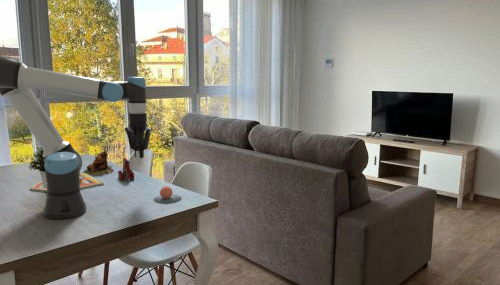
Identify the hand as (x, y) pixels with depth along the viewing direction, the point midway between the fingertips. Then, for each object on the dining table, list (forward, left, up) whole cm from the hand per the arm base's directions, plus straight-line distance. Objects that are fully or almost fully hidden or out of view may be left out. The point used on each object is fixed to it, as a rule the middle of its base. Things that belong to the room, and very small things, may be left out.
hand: (139, 164), depth 169 cm
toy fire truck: (+21, +23, -15) cm, 34 cm away
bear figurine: (+27, +45, -15) cm, 55 cm away
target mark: (0, -14, -14) cm, 20 cm away
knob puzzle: (+1, +45, -15) cm, 47 cm away
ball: (0, -13, -12) cm, 18 cm away
